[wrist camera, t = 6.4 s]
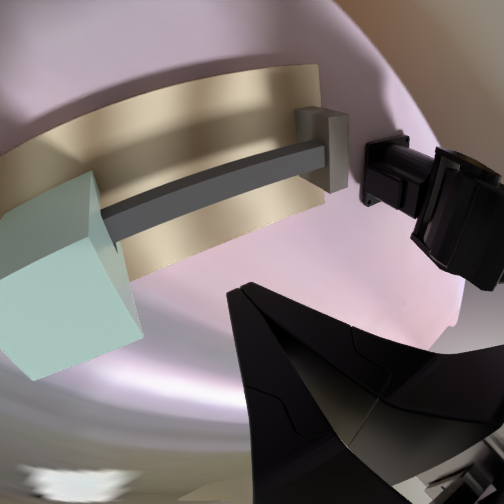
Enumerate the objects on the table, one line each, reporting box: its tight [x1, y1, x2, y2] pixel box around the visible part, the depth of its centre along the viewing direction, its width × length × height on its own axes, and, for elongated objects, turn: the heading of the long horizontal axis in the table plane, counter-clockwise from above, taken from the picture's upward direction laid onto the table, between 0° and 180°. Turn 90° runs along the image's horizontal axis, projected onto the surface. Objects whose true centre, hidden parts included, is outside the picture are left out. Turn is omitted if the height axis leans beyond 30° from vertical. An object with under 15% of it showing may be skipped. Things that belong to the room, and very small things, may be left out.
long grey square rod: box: [100, 140, 327, 244], centre depth 14 cm, size 29×2×2 cm, turn 98°
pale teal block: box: [0, 171, 144, 381], centre depth 12 cm, size 6×5×8 cm
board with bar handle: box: [0, 64, 349, 282], centre depth 15 cm, size 30×11×5 cm, turn 98°
